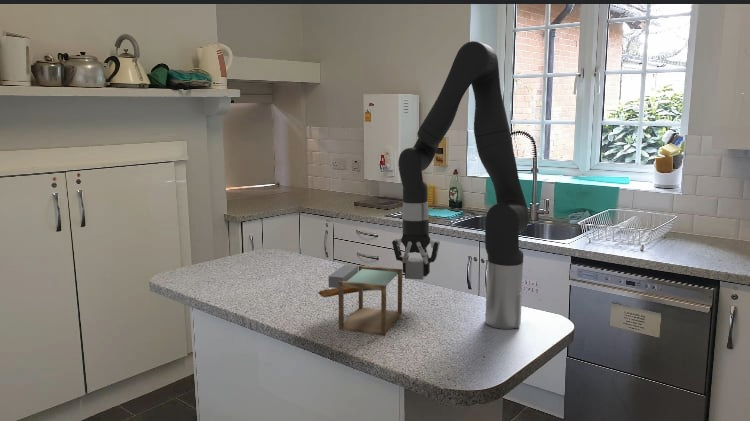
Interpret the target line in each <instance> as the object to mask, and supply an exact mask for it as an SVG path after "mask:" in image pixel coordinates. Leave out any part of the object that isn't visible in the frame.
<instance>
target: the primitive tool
mask: <svg viewBox="0 0 750 421" xmlns="http://www.w3.org/2000/svg"><path fill="white" fill-rule="evenodd" d="M365 290H366V289H363V291H365ZM354 292H359V288H350V287H344V294H348V293H354ZM317 293H318V294H319V295H320V296H321V297H323V298H327V297H328V298H329V297H333V296H337V295H338V296H339V288H331V289H328V288H326V289H324V290H320V291H318V292H317Z"/></svg>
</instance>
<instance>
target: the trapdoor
mask: <svg viewBox="0 0 750 421" xmlns="http://www.w3.org/2000/svg"><path fill="white" fill-rule="evenodd" d="M396 277H398V274H397V272H392V271H381V270H370V269H362V270H360V271H359V265H352V264H344V265H342V266H341V267H339V268H338V269H337V270H335V271H334V272H332V273H331V274H329V275H328V288H331V289H334V288H339V287H338V282H339V281H347V282H357V283H367V284H377V285H386V287H387V286H388V285H389V284H390V283H391V281H393V280H394V279H395V278H396Z"/></svg>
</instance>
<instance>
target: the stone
mask: <svg viewBox="0 0 750 421" xmlns="http://www.w3.org/2000/svg"><path fill="white" fill-rule="evenodd" d="M425 277H427V276H424V260H423V258H422V257H409V258H408V260H407V261H406V275H405V279H406V280H421V281H422V280H423V281H424V279H425Z"/></svg>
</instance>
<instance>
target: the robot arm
mask: <svg viewBox="0 0 750 421" xmlns="http://www.w3.org/2000/svg"><path fill="white" fill-rule="evenodd" d="M470 87H472V92H473V95H474V96H473V97H474V117H473V134H474V135H473V136H474V140H475V145H476V151H477V154H478V157H479V160H480V162H481V164H482V166H483V167H484V169H485V171H486V173H487V175H488V176H489V178H490V180H491V182H492V185H493V189H494V193H495V197H496V199H495V200H496V203H495V204H493V205H492V206H491V207H489V209H488V211H487V212H486V215H485V223H484V225H485V226H484V237H485V238H484V239H485V240H484V245H485V251H486V253H487V263H486V264H487V267H486V293H485V313H484V314H485V315H484V317H485V318H484V322H485V324H487V325H488V326H490V327H492V328H495V329H501V330H502V329H503V330H504V329H505V330H508V329H509V330H510V329H511V330H512V329H520V327H521V322H522V321H521V320H522V302H523V270H524V269H523V268H524V252H523V251H522V250H521V249H520V247H519V245H520V244H519V240H520V236H519V235H520V233H522V232H524V231H525V230H526V229H527V227H528V226H529V223H530V212H529V208H528V204H527V202H526V199H525V194H524V191H523V188H522V185H521V182H520V179H519V178H520V177H519V171H518V167H517V161H516V158H515V156H516V155H515V150H514V146H513V139H512V138H513V137H512V136H511V135H512V134H511V129H510V125H509V120H508V117H507V115H508V114H507V111H506V107H505V103H504V100H503V95H502V89H501V79H500V69H499V59H498V55H497V53H496V51H495V50H494V48H493V47H491V46H490V45H488V44H486V43H483V42H480V41H476V40H471V41H468V42H465V43H464V44H463V45H461V47H460V48H459V50H458V51H457V53H456V55H455V58H454V60H453V62H452V65H451V67H450V70H449V72H448V75H447V77H446V79H445V81H444V83H443V86H442V88H441V90H440V91H439V94H438V96H437V98H436V100H435V101H434V103H433V105H432V106H431V108H430V110H429V112H428V113H427V115H426V117H425V119H424V120H423V122H422V123H421V125H420V127H419V128H418V131H417V133H416V135H417V137H418V138H417V140H416V141H415V143H414V145H413V147H408V148H405V149H403V150H402V151H401V153H399V157H398V162H397V163H398V164H397V165H398V171H399V176H400V181H401V185H402V208H401V209H402V210H401V218H402V224H401V225H402V236H401V238H399V239H397V238H395V239H393V241H391V244H392V248H393V251H394V252H393V253H394V256H395V259H396V261H400V262H401V263H402V274H404V276H406V261H407V260H408V259H409V258H410V255H411V253H412V254H414V253H417V254H420V257H421V258H423V260H424V276H426V277H427V276H428V275H429V274H430V271H431V269H430V268H431V267H430V266H431V263H434V262H435V261H436V260H437V256H438V253H439V247H440V244H441V243H440V242H441V241H440V240H433V239H432V238H431V237H430V222H429V221H430V217H429V213H430V211H429V210H430V209H429V202H428V201H429V200H428V199H429V198H428V195H429V194H428V185H427V183H426V182H425V181H424V179H423V171H425V170H426V169H427V168H428V167H429V166H430V164H431V163H432V162H433V160H434V158H435V155H436V153H437V151H438V149H439V146H440V143H441V142H442V140H443V139H444V137H445V136H446V134H447V133H448V131H449V130H450V128H451V126H452V124H453V123H454V121H455V117H456V116H457V112H458V110H459V106H460V103H461V101H462V100H463V99H462V98H463V97H464V95H465V94H466V92H467V90H468V89H469V88H470ZM402 245H403V246H404V248H405V251H404V253H403V254H402V250H401V246H402ZM429 245H430V247H431V248H432V251H431V254H430V256H429V252H428V250H427V248H428V247H429Z"/></svg>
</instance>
